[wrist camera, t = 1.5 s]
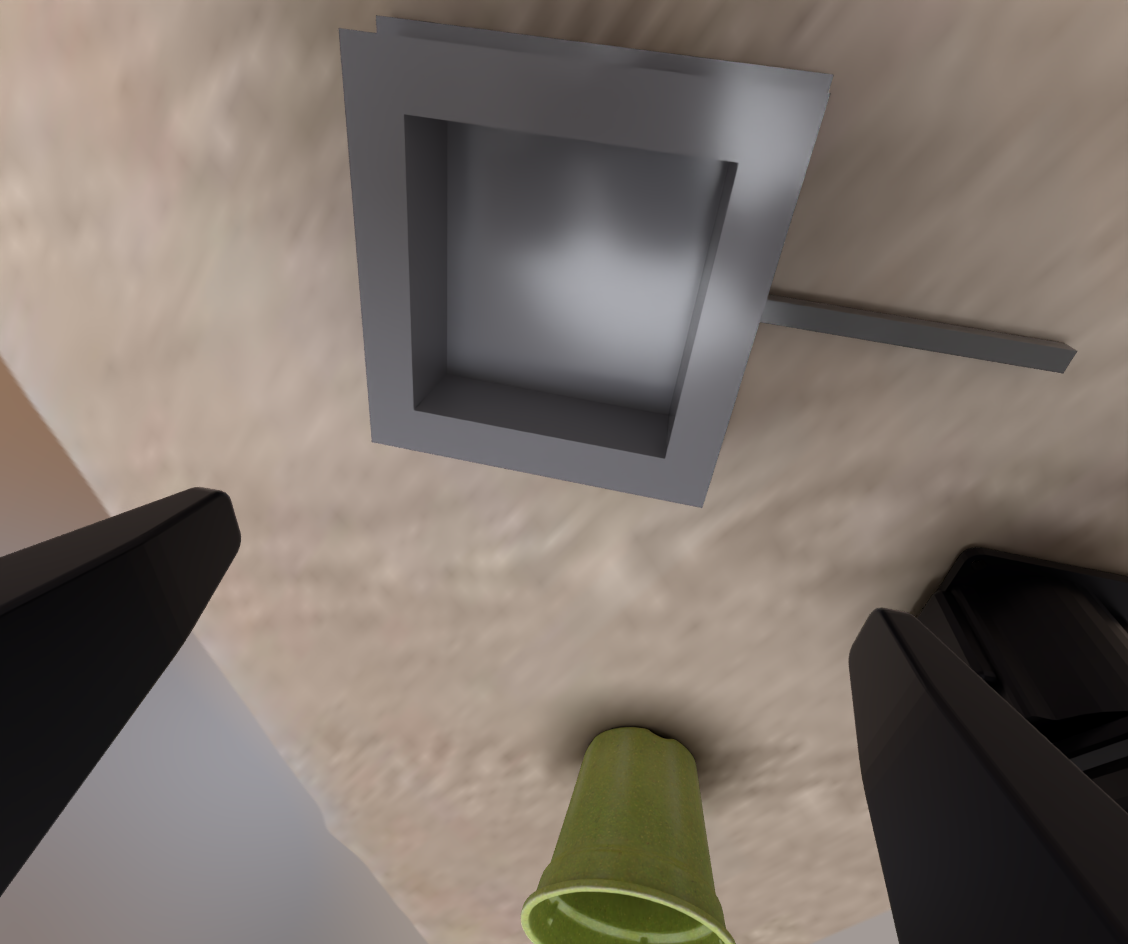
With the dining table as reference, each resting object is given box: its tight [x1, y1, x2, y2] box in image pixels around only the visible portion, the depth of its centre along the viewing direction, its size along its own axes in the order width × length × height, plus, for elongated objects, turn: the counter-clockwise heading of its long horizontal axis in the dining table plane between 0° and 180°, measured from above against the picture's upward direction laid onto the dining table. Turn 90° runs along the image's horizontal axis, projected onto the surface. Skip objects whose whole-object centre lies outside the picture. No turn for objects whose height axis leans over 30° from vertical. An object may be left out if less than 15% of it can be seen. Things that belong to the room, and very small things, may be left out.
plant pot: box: [521, 727, 736, 944], centre depth 29 cm, size 9×9×9 cm
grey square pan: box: [339, 15, 1077, 508], centre depth 17 cm, size 21×12×4 cm, turn 83°
